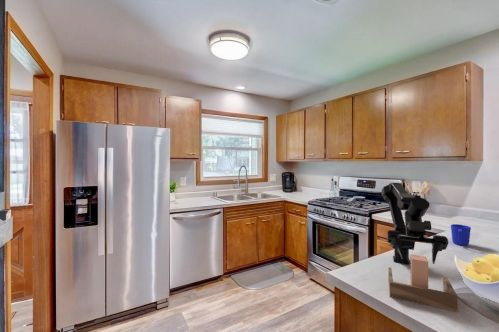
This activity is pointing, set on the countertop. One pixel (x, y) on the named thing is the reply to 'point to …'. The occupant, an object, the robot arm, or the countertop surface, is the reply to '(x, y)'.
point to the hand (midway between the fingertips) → (417, 260)
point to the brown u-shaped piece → (425, 294)
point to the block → (419, 271)
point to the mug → (460, 234)
